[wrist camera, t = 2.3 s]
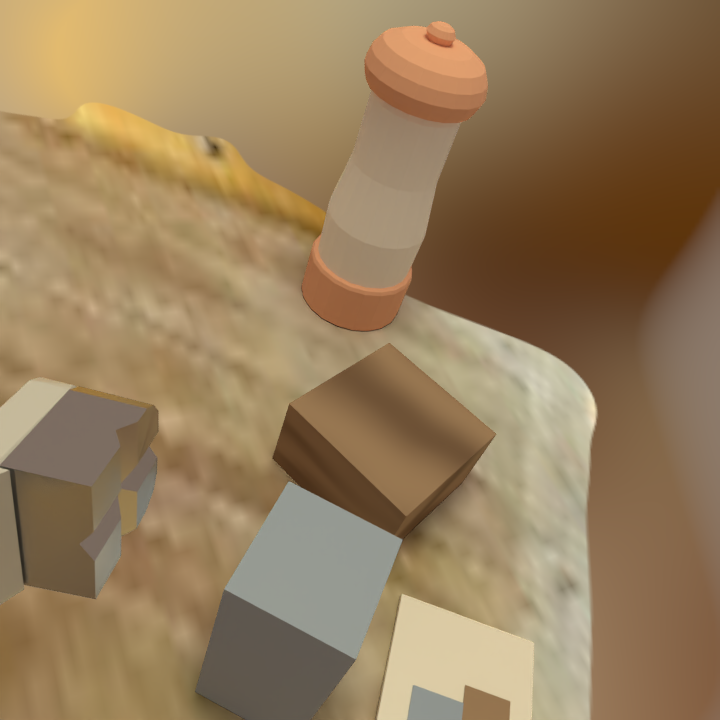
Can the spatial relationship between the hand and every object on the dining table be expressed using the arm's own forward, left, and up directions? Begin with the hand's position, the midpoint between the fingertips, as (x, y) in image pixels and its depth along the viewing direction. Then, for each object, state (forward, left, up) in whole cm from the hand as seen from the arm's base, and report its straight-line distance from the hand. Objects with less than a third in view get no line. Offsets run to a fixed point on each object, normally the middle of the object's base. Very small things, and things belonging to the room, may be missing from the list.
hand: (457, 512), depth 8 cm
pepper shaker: (+24, +21, -23) cm, 39 cm away
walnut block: (+15, +9, -23) cm, 29 cm away
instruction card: (+9, -3, -23) cm, 25 cm away
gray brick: (+4, +4, -23) cm, 23 cm away
